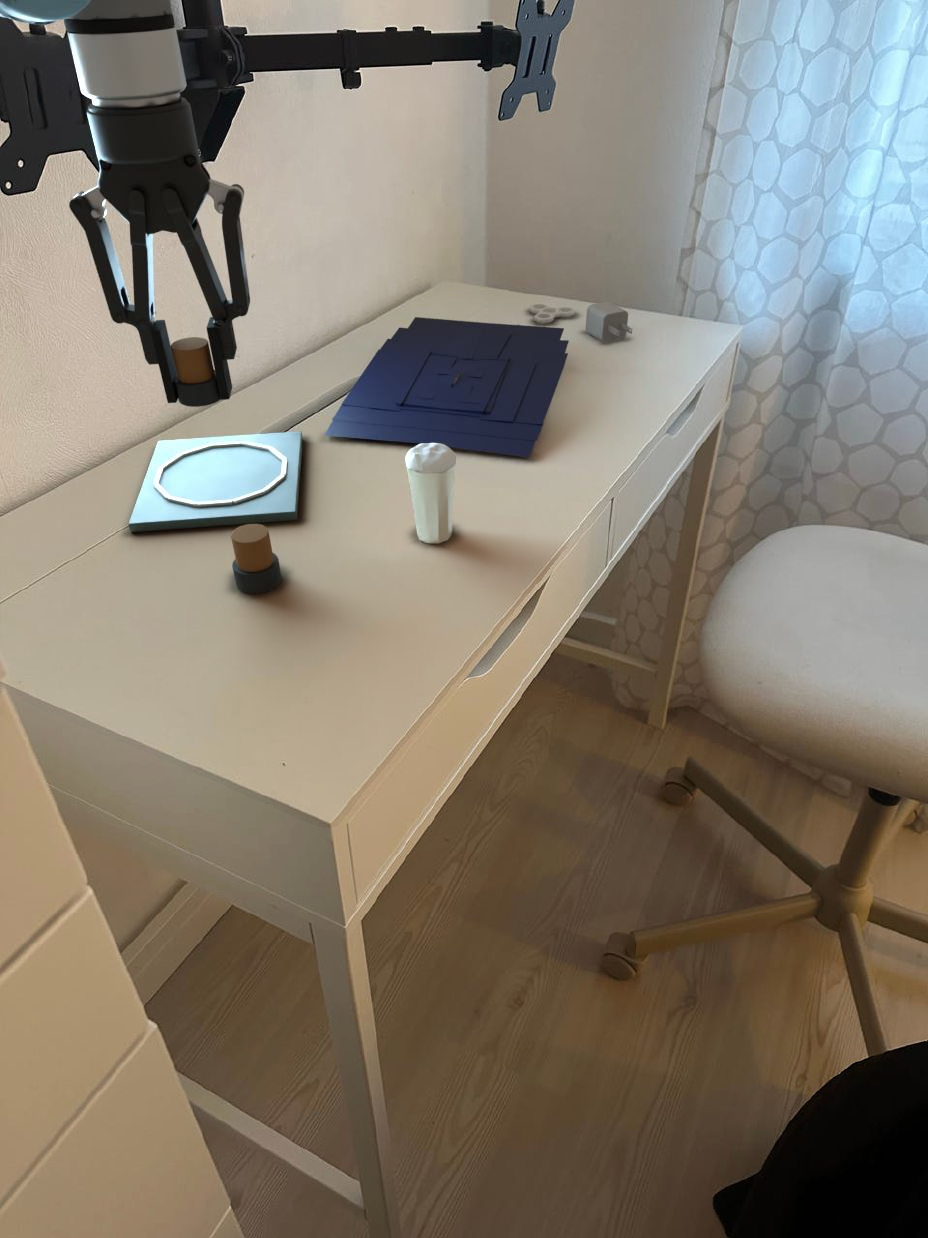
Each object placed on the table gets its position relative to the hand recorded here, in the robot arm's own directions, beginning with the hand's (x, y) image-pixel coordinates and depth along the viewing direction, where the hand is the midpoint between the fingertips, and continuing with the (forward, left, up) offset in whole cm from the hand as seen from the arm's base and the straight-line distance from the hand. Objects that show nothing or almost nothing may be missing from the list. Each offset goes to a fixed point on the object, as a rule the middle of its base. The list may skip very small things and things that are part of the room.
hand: (200, 394), depth 81 cm
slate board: (-1, +7, -13) cm, 15 cm away
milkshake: (+20, -7, -13) cm, 25 cm away
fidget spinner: (+42, +51, -13) cm, 68 cm away
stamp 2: (+4, -12, -13) cm, 18 cm away
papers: (+26, +25, -13) cm, 39 cm away
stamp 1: (0, 0, 0) cm, 0 cm away
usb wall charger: (+49, +41, -13) cm, 65 cm away
